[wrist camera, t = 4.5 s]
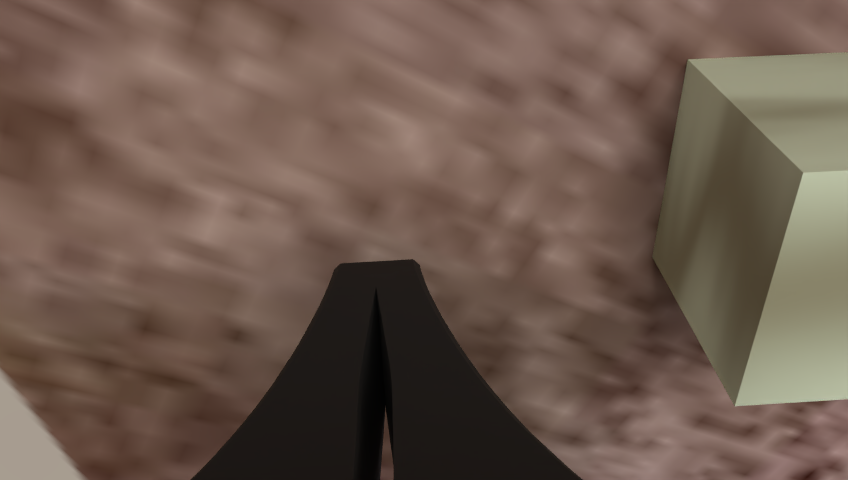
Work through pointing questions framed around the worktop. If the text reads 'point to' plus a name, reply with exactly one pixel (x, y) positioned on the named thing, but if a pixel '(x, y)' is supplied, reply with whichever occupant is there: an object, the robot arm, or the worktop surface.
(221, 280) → the worktop surface
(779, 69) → the block
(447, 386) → the robot arm
